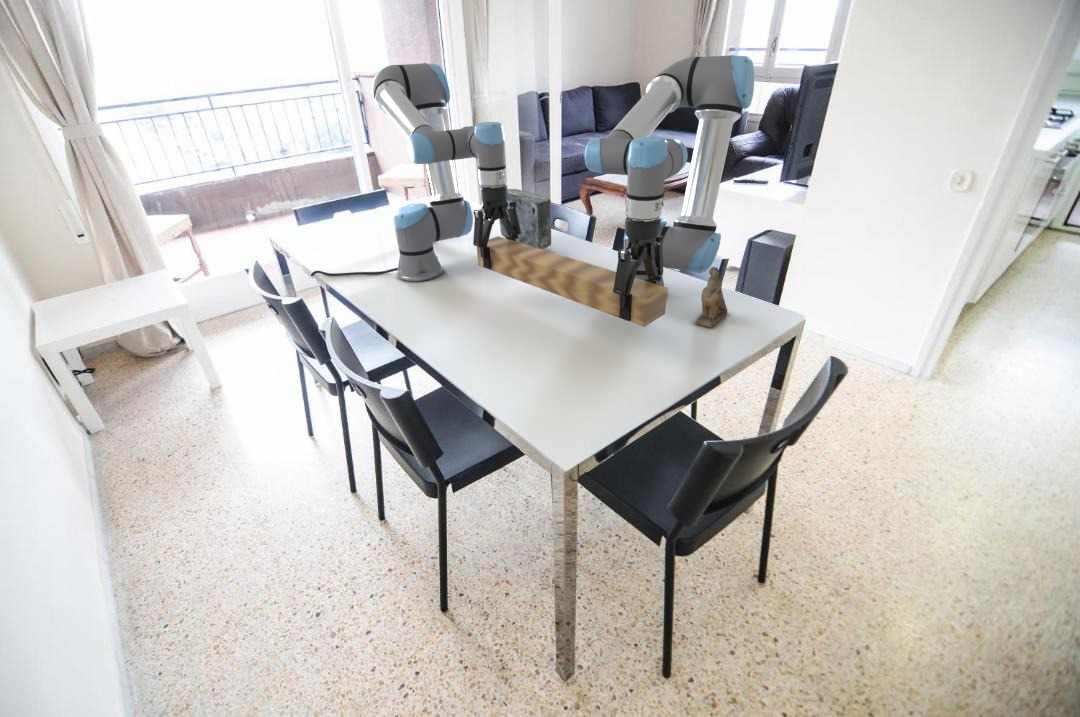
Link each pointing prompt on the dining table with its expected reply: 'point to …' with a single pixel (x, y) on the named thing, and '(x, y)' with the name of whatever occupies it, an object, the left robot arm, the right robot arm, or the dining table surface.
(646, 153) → the right robot arm
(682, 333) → the dining table surface
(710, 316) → the brown carved statuette
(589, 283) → the brown striped wooden beam
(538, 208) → the concrete block
